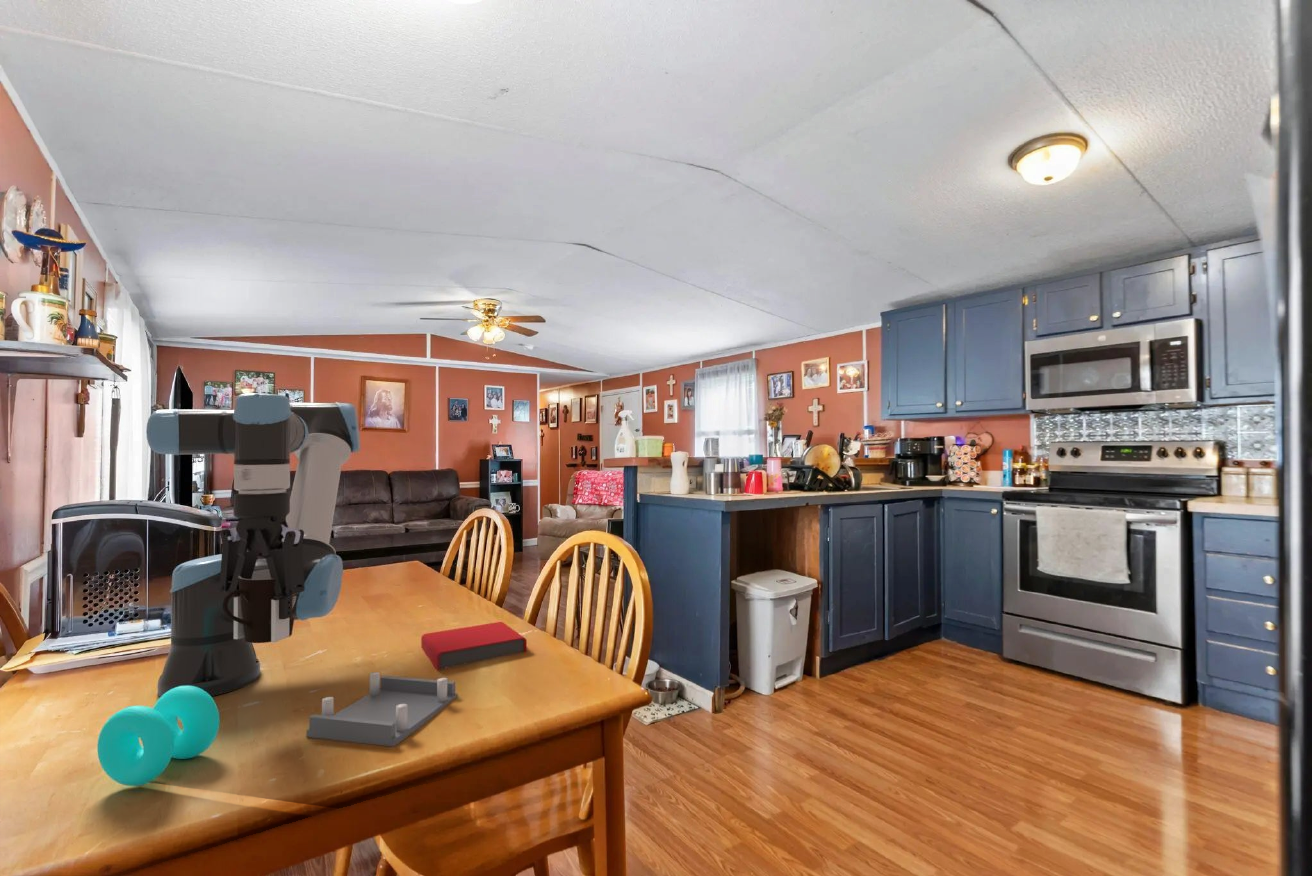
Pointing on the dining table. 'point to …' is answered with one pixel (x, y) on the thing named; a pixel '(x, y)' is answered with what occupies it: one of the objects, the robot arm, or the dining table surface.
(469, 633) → the red device housing
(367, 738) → the pin tray
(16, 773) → the dining table surface
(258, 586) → the coffee mug
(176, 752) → the donuts
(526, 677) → the dining table surface
